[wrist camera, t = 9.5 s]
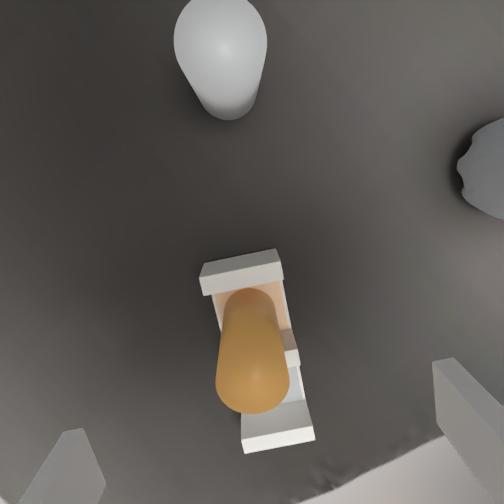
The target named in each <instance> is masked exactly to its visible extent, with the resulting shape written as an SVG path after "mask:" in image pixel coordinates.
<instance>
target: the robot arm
mask: <svg viewBox="0 0 504 504" xmlns="http://www.w3.org/2000/svg"><path fill="white" fill-rule="evenodd" d="M432 366H433V380H434V393H435V407H436V420H437V424H438V426H439V427H440V428H441V430H442V431H443V433H444V434H445V436H446V437H447V438H448V440H449V441H450V443H451V444H452V445H453V447H454V448H455V450H456V451H457V452H458V454H459V455H460V456H461V458H462V460H463V461H464V462H465V464H466V465H467V467H468V468H469V470H470V471H471V472H472V474H473V475H474V477H475V478H476V479H477V481H478V482H479V484H480V485H481V487H482V488H483V490H484V491H485V492H486V494H487V495H488V497H489V498H490V499H491V501H492V502H493V504H504V407H503V406H502V405H501V404H500V403H499V402H498V401H497V400H496V399H495V398H494V397H492V396H491V395H490V394H489V393H488V392H487V391H486V390H485V389H484V388H483V387H482V386H481V385H480V384H479V383H478V382H477V381H476V380H475V379H474V378H473V377H472V376H471V375H470V374H469V373H468V372H467V371H466V370H465V369H464V368H463V367H462V366H461V365H460V364H459V363H458V362H457V361H456V360H455V359H454V358H448V359H443V360H437V361H432ZM105 486H106V482H105V479H104V477H103V475H102V472H101V470H100V467H99V465H98V463H97V460H96V458H95V455H94V453H93V451H92V448H91V446H90V443H89V441H88V438H87V436H86V434H85V431H84V429H83V428H80V429H75V430H70V431H64V432H63V433H62V435H61V436H60V438H59V440H58V441H57V443H56V444H55V446H54V447H53V449H52V451H51V452H50V454H49V455H48V457H47V458H46V460H45V461H44V463H43V465H42V466H41V468H40V469H39V471H38V472H37V474H36V476H35V477H34V479H33V480H32V482H31V483H30V485H29V487H28V488H27V490H26V491H25V493H24V494H23V496H22V497H21V499H20V501H19V502H18V504H98V503H99V500H100V498H101V496H102V493H103V491H104V488H105Z"/></svg>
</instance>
